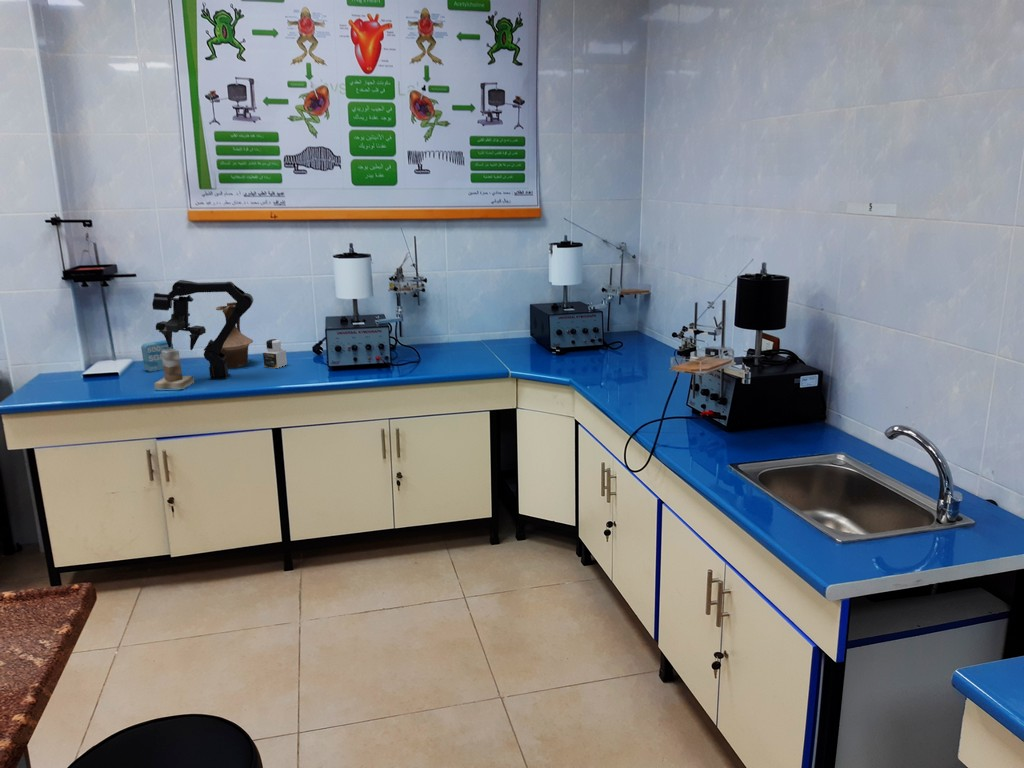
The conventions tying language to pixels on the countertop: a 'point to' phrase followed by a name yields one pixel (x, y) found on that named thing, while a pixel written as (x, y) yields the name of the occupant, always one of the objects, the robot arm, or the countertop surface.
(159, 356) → the data package
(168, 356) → the gray square block
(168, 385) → the beige square block
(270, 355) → the medicine bottle
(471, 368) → the countertop surface
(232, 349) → the pitcher
